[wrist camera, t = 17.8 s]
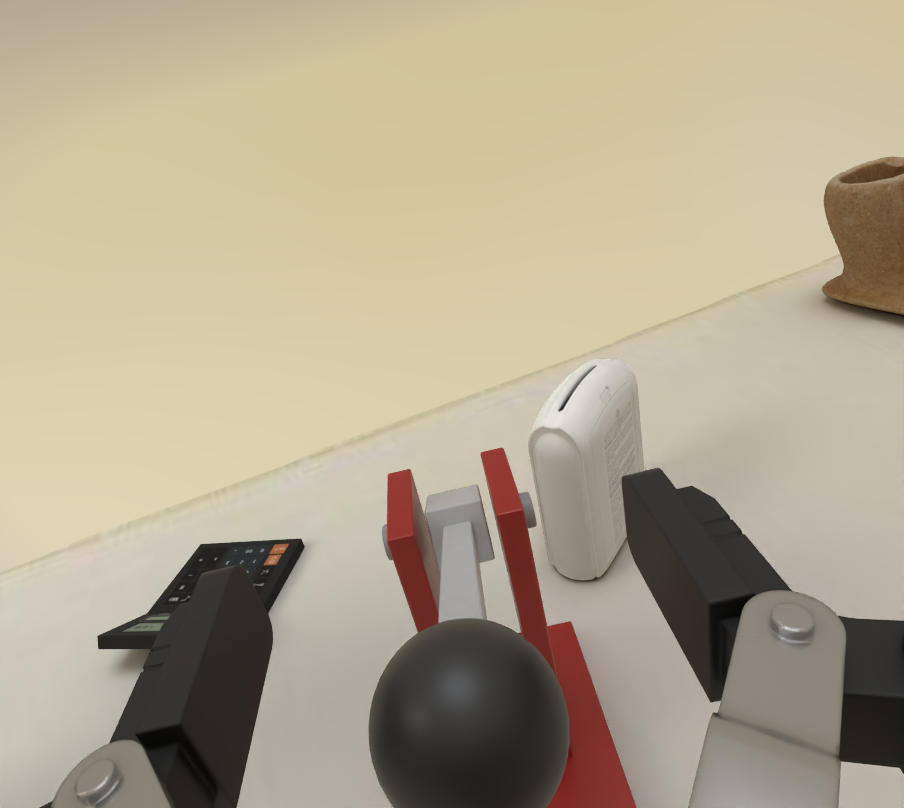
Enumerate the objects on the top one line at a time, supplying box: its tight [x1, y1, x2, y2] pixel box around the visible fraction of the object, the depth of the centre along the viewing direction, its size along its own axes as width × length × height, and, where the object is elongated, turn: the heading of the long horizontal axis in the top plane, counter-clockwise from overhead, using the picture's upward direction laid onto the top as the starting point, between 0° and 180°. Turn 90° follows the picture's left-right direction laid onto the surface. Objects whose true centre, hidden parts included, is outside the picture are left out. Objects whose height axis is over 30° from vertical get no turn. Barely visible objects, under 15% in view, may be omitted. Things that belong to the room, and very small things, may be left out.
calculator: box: [97, 539, 304, 649], centre depth 43 cm, size 9×12×3 cm
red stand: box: [382, 448, 636, 808], centre depth 26 cm, size 11×9×16 cm
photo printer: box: [528, 358, 644, 580], centre depth 39 cm, size 10×4×12 cm, turn 146°
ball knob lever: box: [369, 485, 570, 808], centre depth 17 cm, size 16×4×4 cm, turn 5°
